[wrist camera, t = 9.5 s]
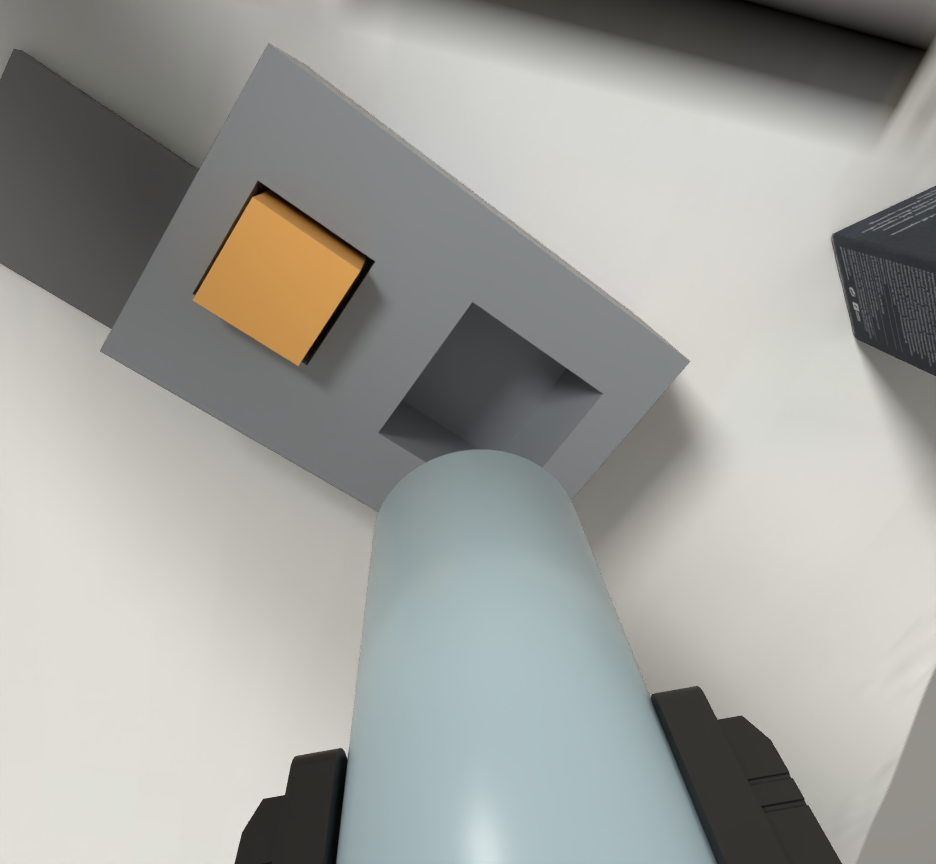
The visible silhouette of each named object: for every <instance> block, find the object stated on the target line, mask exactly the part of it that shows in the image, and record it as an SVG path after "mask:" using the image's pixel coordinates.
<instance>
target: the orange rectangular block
mask: <svg viewBox="0 0 936 864" xmlns="http://www.w3.org/2000/svg"><path fill="white" fill-rule="evenodd" d="M366 257H367V255H365V254H364V253H362V252H361V251H359V250H358V249H356V248H355V247H354V246H352V245H351V244H349V243H348V242H346V241H345V240H343V239H342V238H341V237H339V236H338V235H336V234H335V233H333V232H332V231H330V230H329V229H328V228H326V227H325V226H323V225H322V224H320V223H319V222H317V221H316V220H315V219H313V218H312V217H310V216H309V215H307V214H306V213H304V212H303V211H302V210H300V209H299V208H297V207H296V206H294V205H293V204H291V203H290V202H288V201H287V200H286V199H284V198H283V197H281V196H280V195H278V194H277V193H275V192H274V191H273V190H270V191H267V192H264V193H262V194H259V195H257V196H254V197H252V199H251V200H250V202H249V204H248V205H247V207H246V209H245V211H244V212H243V214H242V216H241V218H240V219H239V221H238V223H237V224H236V226H235V228H234V230H233V231H232V233H231V235H230V237H229V238H228V240H227V242H226V243H225V245H224V247H223V249H222V250H221V252H220V254H219V255H218V257H217V259H216V261H215V262H214V264H213V266H212V268H211V269H210V271H209V273H208V274H207V276H206V278H205V280H204V281H203V283H202V285H201V287H200V288H199V290H198V292H197V293H196V295H195V297H194V299H193V301H194V302H196V303H198V304H199V305H201V306H202V307H204V308H206V309H207V310H209V311H210V312H212V313H214V314H215V315H217V316H218V317H220V318H222V319H223V320H225V321H227V322H228V323H230V324H231V325H233V326H235V327H236V328H238V329H239V330H241V331H243V332H244V333H246V334H247V335H249V336H251V337H252V338H254V339H255V340H257V341H259V342H260V343H262V344H264V345H265V346H267V347H268V348H270V349H272V350H273V351H275V352H276V353H278V354H280V355H281V356H283V357H284V358H286V359H288V360H289V361H291V362H292V363H294V364H296V365H297V366H299V364H300V363H301V361H302V360H303V358H304V356H305V355H306V353H307V352H308V350H309V349H310V347H311V346H312V344H313V343H314V341H315V340H316V338H317V337H318V335H319V334H320V332H321V330H322V329H323V327H324V326H325V324H326V323H327V321H328V320H329V318H330V317H331V315H332V314H333V312H334V311H335V309H336V307H337V306H338V304H339V303H340V301H341V300H342V298H343V297H344V295H345V294H346V292H347V291H348V289H349V288H350V286H351V285H352V283H353V281H354V280H355V278H356V277H357V275H358V274H359V272H360V271H361V268H362V266H363V264H364V262H365V260H366Z"/></svg>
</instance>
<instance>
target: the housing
mask: <svg viewBox="0 0 936 864" xmlns="http://www.w3.org/2000/svg"><path fill="white" fill-rule="evenodd" d="M270 190H273V191H274V192H275V193H277V194H278V195H280V196H281V197H283V198H284V199H286V200H287V201H288V202H290V203H291V204H293V205H294V206H296V207H297V208H299V209H300V210H302V211H303V212H304V213H306V214H307V215H309V216H310V217H312V218H313V219H315V220H316V221H317V222H319V223H320V224H322V225H323V226H325V227H326V228H328V229H329V230H330V231H332V232H333V233H335V234H336V235H338V236H339V237H341V238H342V239H343V240H345V241H346V242H348V243H349V244H351V245H352V246H354V247H355V248H356V249H358V250H359V251H361V252H362V253H364V254H365V255H367V257H366V260H365V262H364V264H363V266H362V268H361V271H360V272H359V274H358V275H357V277H356V278H355V280H354V281H353V283H352V285H351V286H350V288H349V289H348V291H347V292H346V294H345V295H344V297H343V298H342V300H341V301H340V303H339V304H338V306H337V307H336V309H335V311H334V312H333V314H332V315H331V317H330V318H329V320H328V321H327V323H326V324H325V326H324V327H323V329H322V330H321V332H320V334H319V335H318V337H317V338H316V340H315V341H314V343H313V344H312V346H311V347H310V349H309V350H308V352H307V353H306V355H305V356H304V358H303V360H302V361H301V363H300V364H299V366H297V365H296V364H294V363H292V362H291V361H289V360H288V359H286V358H284V357H283V356H281V355H280V354H278V353H276V352H275V351H273V350H272V349H270V348H268V347H267V346H265V345H264V344H262V343H260V342H259V341H257V340H255V339H254V338H252V337H251V336H249V335H247V334H246V333H244V332H243V331H241V330H239V329H238V328H236V327H235V326H233V325H231V324H230V323H228V322H227V321H225V320H223V319H222V318H220V317H218V316H217V315H215V314H214V313H212V312H210V311H209V310H207V309H206V308H204V307H202V306H201V305H199V304H198V303H196V302H194V301H193V299H194V297H195V295H196V293H197V292H198V290H199V288H200V287H201V285H202V283H203V281H204V280H205V278H206V276H207V274H208V273H209V271H210V269H211V268H212V266H213V264H214V262H215V261H216V259H217V257H218V255H219V254H220V252H221V250H222V249H223V247H224V245H225V243H226V242H227V240H228V238H229V237H230V235H231V233H232V231H233V230H234V228H235V226H236V224H237V223H238V221H239V219H240V218H241V216H242V214H243V212H244V211H245V209H246V207H247V205H248V204H249V202H250V200H251V199H252V197H254V196H257V195H259V194H262V193H264V192H267V191H270ZM100 352H102V353H104V354H106V355H107V356H109V357H111V358H113V359H114V360H116V361H118V362H119V363H121V364H123V365H125V366H126V367H128V368H130V369H132V370H133V371H135V372H137V373H139V374H140V375H142V376H144V377H145V378H147V379H149V380H151V381H152V382H154V383H156V384H158V385H159V386H161V387H163V388H165V389H166V390H168V391H170V392H171V393H173V394H175V395H177V396H178V397H180V398H182V399H184V400H185V401H187V402H189V403H191V404H192V405H194V406H196V407H197V408H199V409H201V410H203V411H204V412H206V413H208V414H210V415H211V416H213V417H215V418H216V419H218V420H220V421H222V422H223V423H225V424H227V425H229V426H230V427H232V428H234V429H236V430H237V431H239V432H241V433H242V434H244V435H246V436H248V437H249V438H251V439H253V440H255V441H256V442H258V443H260V444H262V445H263V446H265V447H267V448H268V449H270V450H272V451H274V452H275V453H277V454H279V455H281V456H282V457H284V458H286V459H288V460H289V461H291V462H293V463H294V464H296V465H298V466H300V467H301V468H303V469H305V470H307V471H308V472H310V473H312V474H313V475H315V476H317V477H319V478H320V479H322V480H324V481H326V482H327V483H329V484H331V485H333V486H334V487H336V488H338V489H339V490H341V491H343V492H345V493H346V494H348V495H350V496H352V497H353V498H355V499H357V500H359V501H360V502H362V503H364V504H365V505H367V506H369V507H371V508H372V509H374V510H376V511H378V512H379V511H380V509H381V506H382V504H383V502H384V501H385V499H386V498H387V496H388V495H389V493H390V492H391V491H392V489H393V488H394V487H395V486H396V485H397V484H398V482H400V481H401V480H402V479H403V478H404V477H405V476H406V475H407V474H409V473H410V472H411V471H413V470H414V469H416V468H417V467H419V466H420V465H422V464H424V463H426V462H428V461H430V460H432V459H435V458H437V457H440V456H443V455H446V454H450V453H454V452H458V451H465V450H496V451H503V452H507V453H511V454H515V455H518V456H520V457H523V458H525V459H528V460H530V461H532V462H534V463H535V464H537V465H539V466H541V467H542V468H543V469H545V470H546V471H547V472H549V473H550V474H551V475H552V476H553V477H554V478H555V479H556V480H557V481H558V482H559V483H560V484H561V485H562V487H563V488H564V489H565V491H566V492H567V494H568V496H569V497H570V499H571V500H572V499H573V498H574V497H575V496H576V494H577V493H578V492H579V491H580V490H581V489H582V487H583V486H584V485H585V484H586V483H587V482H588V480H589V479H590V478H591V477H592V476H593V475H594V473H595V472H596V471H597V470H598V469H599V468H600V466H601V465H602V464H603V463H604V462H605V461H606V459H607V458H608V457H609V456H610V455H611V453H612V452H613V451H614V450H615V449H616V448H617V446H618V445H619V444H620V443H621V442H622V441H623V439H624V438H625V437H626V436H627V435H628V434H629V432H630V431H631V430H632V429H633V428H634V427H635V425H636V424H637V423H638V422H639V421H640V420H641V418H642V417H643V416H644V415H645V414H646V412H647V411H648V410H649V409H650V408H651V407H652V405H653V404H654V403H655V402H656V401H657V400H658V398H659V397H660V396H661V395H662V394H663V393H664V391H665V390H666V389H667V388H668V387H669V386H670V384H671V383H672V382H673V381H674V380H675V379H676V377H677V376H678V375H679V374H680V373H681V371H682V370H683V369H684V368H685V367H686V366H687V364H688V363H689V362H690V361H689V360H688V359H687V358H686V357H685V356H683V355H682V354H681V353H680V352H679V351H678V350H676V349H675V348H674V347H673V346H672V345H671V344H669V343H668V342H667V341H666V340H665V339H663V338H662V337H661V336H660V335H659V334H658V333H656V332H655V331H654V330H653V329H652V328H651V327H649V326H648V325H647V324H646V323H645V322H644V321H642V320H641V319H640V318H639V317H638V316H636V315H635V314H634V313H632V312H631V311H630V310H628V309H627V308H626V307H625V306H623V305H622V304H621V303H619V302H618V301H617V300H615V299H614V298H613V297H611V296H610V295H609V294H607V293H606V292H605V291H603V290H602V289H601V288H599V287H598V286H597V285H595V284H594V283H593V282H592V281H590V280H589V279H588V278H586V277H585V276H584V275H582V274H581V273H580V272H578V271H577V270H576V269H574V268H573V267H572V266H570V265H569V264H568V263H566V262H565V261H564V260H562V259H561V258H560V257H559V256H557V255H556V254H555V253H553V252H552V251H551V250H549V249H548V248H547V247H545V246H544V245H543V244H541V243H540V242H539V241H537V240H536V239H535V238H533V237H532V236H531V235H529V234H528V233H527V232H525V231H524V230H523V229H522V228H520V227H519V226H518V225H516V224H515V223H514V222H512V221H511V220H510V219H508V218H507V217H506V216H504V215H503V214H502V213H500V212H499V211H498V210H496V209H495V208H494V207H492V206H491V205H490V204H489V203H487V202H486V201H485V200H483V199H482V198H481V197H479V196H478V195H477V194H475V193H474V192H473V191H471V190H470V189H469V188H467V187H466V186H465V185H463V184H462V183H461V182H459V181H458V180H457V179H456V178H454V177H453V176H452V175H450V174H449V173H448V172H446V171H445V170H444V169H442V168H441V167H440V166H438V165H437V164H436V163H434V162H433V161H432V160H430V159H429V158H428V157H426V156H425V155H424V154H422V153H421V152H420V151H419V150H417V149H416V148H415V147H413V146H412V145H411V144H409V143H408V142H407V141H405V140H404V139H403V138H401V137H400V136H399V135H397V134H396V133H395V132H393V131H392V130H391V129H389V128H388V127H387V126H386V125H384V124H383V123H382V122H380V121H379V120H378V119H376V118H375V117H374V116H372V115H371V114H370V113H368V112H367V111H366V110H364V109H363V108H362V107H360V106H359V105H358V104H356V103H355V102H354V101H353V100H351V99H350V98H349V97H347V96H346V95H345V94H343V93H342V92H341V91H339V90H338V89H337V88H335V87H334V86H333V85H331V84H330V83H329V82H327V81H326V80H325V79H323V78H322V77H321V76H320V75H318V74H317V73H316V72H314V71H313V70H312V69H310V68H309V67H308V66H306V65H305V64H304V63H302V62H300V61H299V60H297V59H295V58H293V57H292V56H290V55H288V54H286V53H285V52H283V51H281V50H279V49H278V48H276V47H274V46H273V45H271V44H269V43H268V45H267V47H266V48H265V50H264V52H263V54H262V56H261V58H260V59H259V61H258V63H257V65H256V67H255V69H254V70H253V72H252V74H251V76H250V78H249V80H248V81H247V83H246V85H245V87H244V89H243V90H242V92H241V94H240V96H239V98H238V100H237V101H236V103H235V105H234V107H233V109H232V111H231V112H230V114H229V116H228V118H227V120H226V122H225V123H224V125H223V127H222V129H221V131H220V133H219V134H218V136H217V138H216V140H215V142H214V143H213V145H212V147H211V149H210V151H209V153H208V154H207V156H206V158H205V160H204V162H203V164H202V165H201V167H200V169H199V171H198V173H197V175H196V176H195V178H194V180H193V182H192V184H191V186H190V187H189V189H188V191H187V193H186V195H185V196H184V198H183V200H182V202H181V204H180V206H179V207H178V209H177V211H176V213H175V215H174V217H173V218H172V220H171V222H170V224H169V226H168V228H167V229H166V231H165V233H164V235H163V237H162V239H161V240H160V242H159V244H158V246H157V248H156V249H155V251H154V253H153V255H152V257H151V259H150V260H149V262H148V264H147V266H146V268H145V270H144V271H143V273H142V275H141V277H140V279H139V281H138V282H137V284H136V286H135V288H134V290H133V292H132V293H131V295H130V297H129V299H128V301H127V302H126V304H125V306H124V308H123V310H122V312H121V313H120V315H119V317H118V319H117V321H116V323H115V324H114V326H113V328H112V330H111V332H110V334H109V335H108V337H107V339H106V341H105V343H104V344H103V346H102V348H101V350H100Z"/></svg>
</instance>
